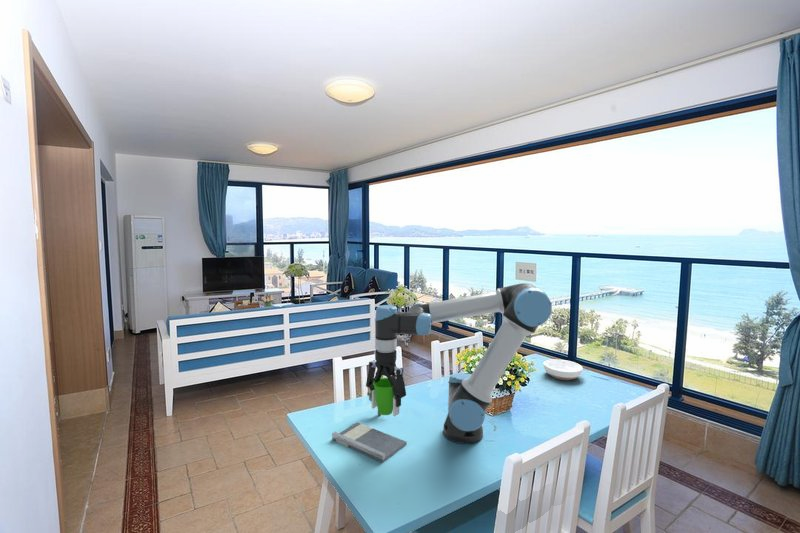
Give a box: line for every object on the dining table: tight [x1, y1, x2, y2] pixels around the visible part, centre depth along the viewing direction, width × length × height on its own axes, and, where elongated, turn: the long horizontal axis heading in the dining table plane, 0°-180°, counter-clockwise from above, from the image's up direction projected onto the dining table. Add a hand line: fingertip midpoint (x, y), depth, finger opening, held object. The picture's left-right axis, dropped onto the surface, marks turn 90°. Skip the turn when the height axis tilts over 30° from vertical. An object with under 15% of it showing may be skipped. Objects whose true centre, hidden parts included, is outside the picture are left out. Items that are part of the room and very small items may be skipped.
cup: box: [373, 377, 395, 416], centre depth 139 cm, size 9×9×11 cm
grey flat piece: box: [331, 421, 407, 464], centre depth 144 cm, size 24×14×2 cm, turn 54°
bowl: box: [543, 358, 584, 381], centre depth 209 cm, size 20×20×6 cm
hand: (385, 410), depth 139 cm, fingers closed on cup, 9 cm apart
